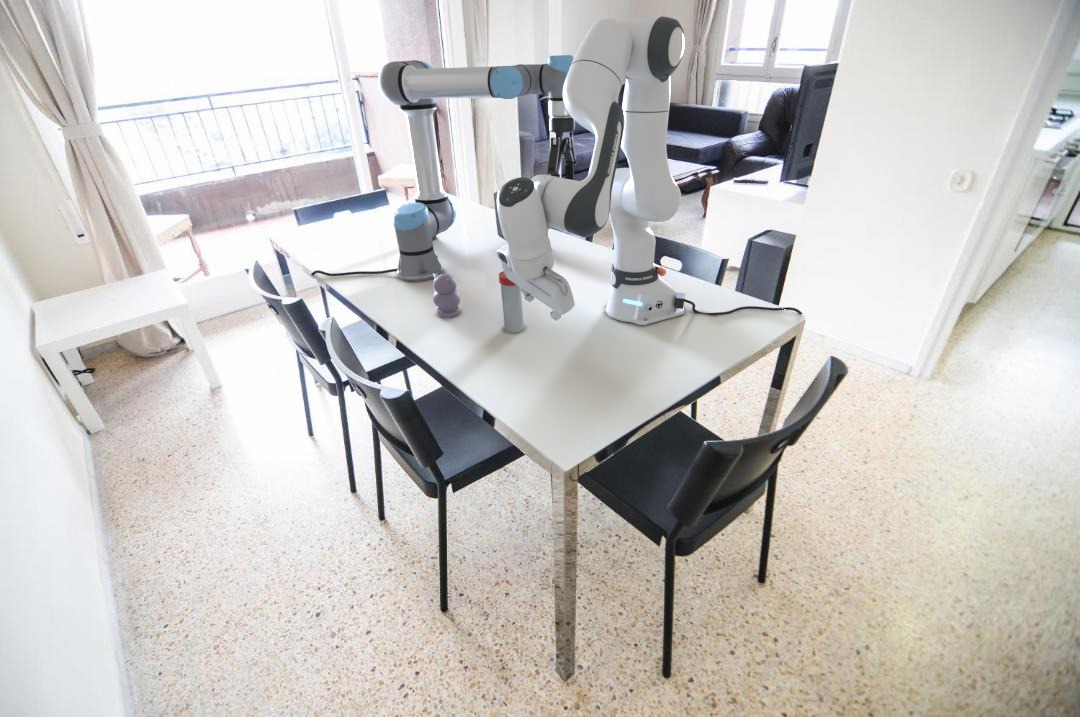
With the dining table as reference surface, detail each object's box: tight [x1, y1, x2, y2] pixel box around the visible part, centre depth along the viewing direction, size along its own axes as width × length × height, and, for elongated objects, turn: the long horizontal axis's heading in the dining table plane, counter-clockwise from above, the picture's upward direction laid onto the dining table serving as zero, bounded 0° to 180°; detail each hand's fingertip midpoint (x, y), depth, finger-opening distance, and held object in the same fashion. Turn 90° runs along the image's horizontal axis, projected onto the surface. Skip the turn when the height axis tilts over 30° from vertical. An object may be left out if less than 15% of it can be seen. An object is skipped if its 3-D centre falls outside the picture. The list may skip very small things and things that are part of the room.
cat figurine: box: [432, 273, 462, 318], centre depth 145 cm, size 9×8×12 cm
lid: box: [498, 270, 516, 286], centre depth 131 cm, size 6×6×2 cm
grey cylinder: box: [500, 284, 525, 334], centre depth 134 cm, size 5×5×16 cm
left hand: (562, 191), depth 156 cm, fingers open, 13 cm apart
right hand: (542, 308), depth 112 cm, fingers open, 8 cm apart
